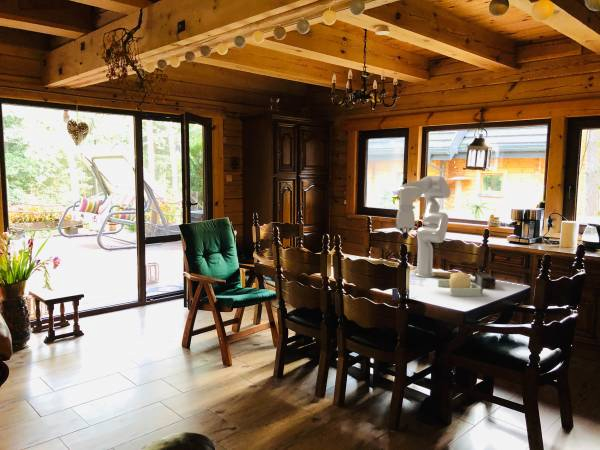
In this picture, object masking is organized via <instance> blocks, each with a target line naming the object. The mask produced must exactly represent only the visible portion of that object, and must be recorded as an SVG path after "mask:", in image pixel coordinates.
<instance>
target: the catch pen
mask: <svg viewBox="0 0 600 450" xmlns="http://www.w3.org/2000/svg"><path fill="white" fill-rule="evenodd" d="M449 280H450V278H448V279H441V278H440V279H439V278H438V280H437V287H439V288H440V287H441V288H442V287H446V288H450V285H449ZM483 289H484V288H481V287H480V286H479V285H478V284H477V283H476V284H475V283H474V282H472V281H471V285H470V288H450V290H449V291H450V297H483V295H484V294H483V291H484V290H483Z"/></svg>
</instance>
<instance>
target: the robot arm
mask: <svg viewBox="0 0 600 450" xmlns="http://www.w3.org/2000/svg"><path fill="white" fill-rule="evenodd" d="M451 190H452V189H451V187H450V185H449V184H448V182H447V180H446V179H445V178H444V177H443V176H441V175H440V176H439V175H437V176H436V175H426V176H424V177H423V178H421V179H419V180H416V181H415V180H414V181H412V182H407V183H404V184H402V185H400V186H399V187H398V189H397V194H396V195H397V197H398V198H399V207H398V208H399V210H397V213H396V221H395V225H396V227H395V229H396V230H399V231H400V232H401V233H402V239H403V240H405V241H407V240H408V238H409V233H410V232H411V231H412V230H415V228H416V227H415V223H416V221H415V212H414V209H416V206H414V204H413V203H414V201H413V200H419V199H420V198H421V197H422V195H423V196H424V198H425V203H426V207H425V210H424V214H423V219H422V224H423V225H424V226H420V227H418V228H417V231H416V239H417V262H416V263H417V265H416V268H417V269H416V271H415V272H414V276H415V277H423V278H431V277H435V272H433V259H434V248H433V245H432V243H436V244H437V243H440V244H441V243H444V240H445V238H446V234H447V230H448V227H449V226H448V225H449V215H448V214H447V213H446V212H442V211H441V212H440V207H441V206H440V204H439V202H438V201H437V200H436V199H448V198H449V197H450V196H451V194H452V193H451Z"/></svg>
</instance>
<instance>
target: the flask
mask: <svg viewBox="0 0 600 450" xmlns="http://www.w3.org/2000/svg"><path fill="white" fill-rule="evenodd" d="M391 290H392V291H391V300H394V301H400V298H399V294H398V291H397V289H392V288H391ZM409 299H410V290H409V291H408V294H407V298H406V300H409ZM406 300H405V301H406Z"/></svg>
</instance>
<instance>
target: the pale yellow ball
mask: <svg viewBox="0 0 600 450" xmlns="http://www.w3.org/2000/svg"><path fill="white" fill-rule="evenodd" d="M449 276H450V277H449V279H450V280H449V285H450V287H449V288H450V289H451V288H470V285H471V282H472V281H471V275H470V274H467V273H465V272H461V271H458V272H453V273H450V274H449Z"/></svg>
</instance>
